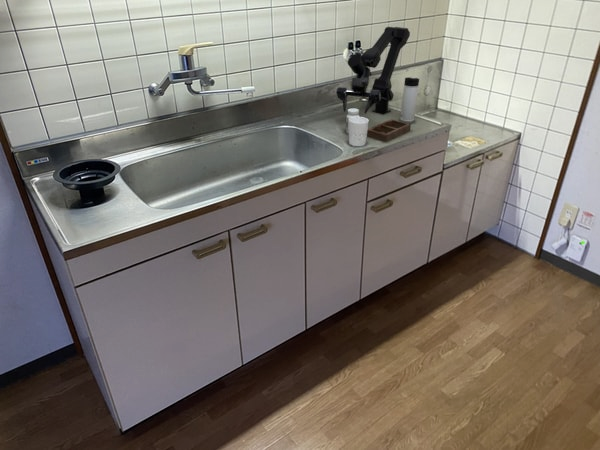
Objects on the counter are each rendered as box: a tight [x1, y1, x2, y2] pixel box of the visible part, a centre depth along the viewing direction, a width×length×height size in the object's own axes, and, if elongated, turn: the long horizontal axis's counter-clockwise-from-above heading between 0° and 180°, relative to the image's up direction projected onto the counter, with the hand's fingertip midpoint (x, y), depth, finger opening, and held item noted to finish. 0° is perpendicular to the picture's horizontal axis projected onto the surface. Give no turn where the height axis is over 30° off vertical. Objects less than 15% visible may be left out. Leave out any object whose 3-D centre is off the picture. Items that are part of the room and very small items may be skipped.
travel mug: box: [399, 77, 420, 124], centre depth 207 cm, size 6×7×20 cm
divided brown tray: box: [366, 118, 412, 143], centre depth 199 cm, size 19×10×3 cm, turn 136°
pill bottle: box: [345, 107, 361, 135], centre depth 198 cm, size 6×6×10 cm
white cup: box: [348, 116, 370, 147], centre depth 187 cm, size 8×8×10 cm
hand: (354, 112), depth 198 cm, fingers open, 9 cm apart
